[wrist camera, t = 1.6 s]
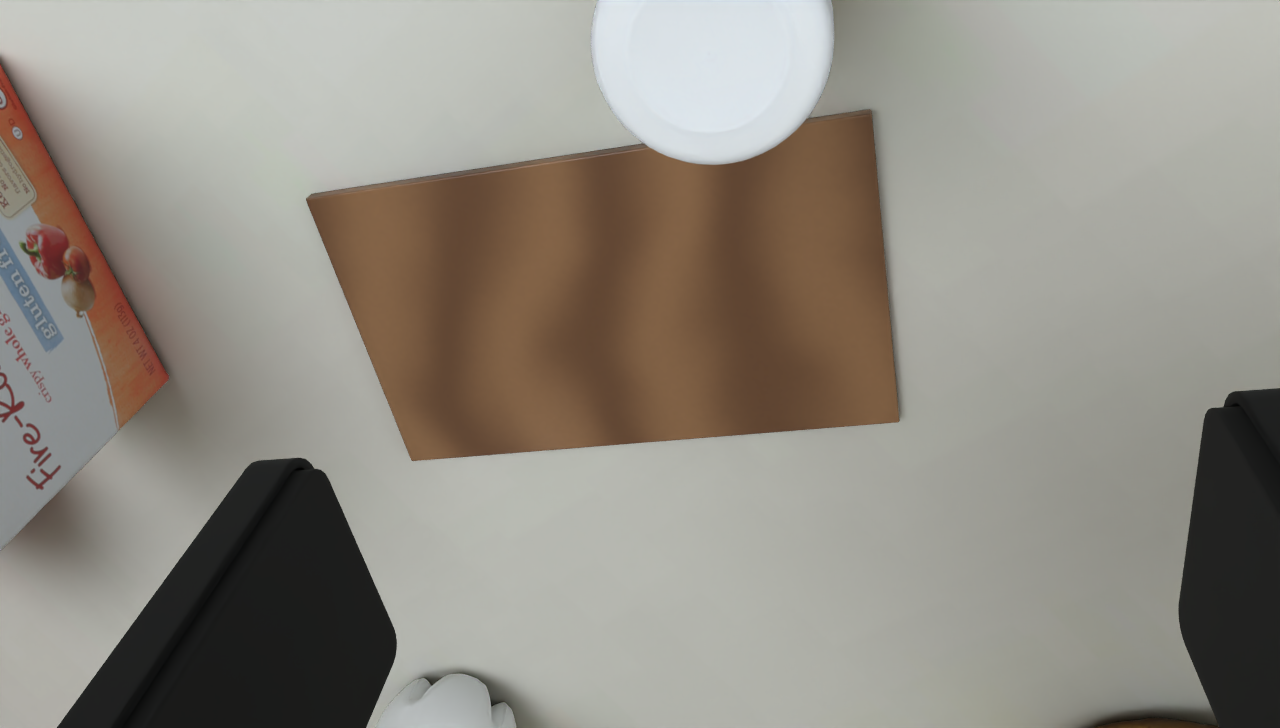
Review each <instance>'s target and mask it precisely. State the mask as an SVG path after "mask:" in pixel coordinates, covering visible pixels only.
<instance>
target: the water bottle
mask: <svg viewBox="0 0 1280 728" xmlns="http://www.w3.org/2000/svg"><path fill="white" fill-rule="evenodd" d="M375 728H517V727H516V722H515V718H514V715H513V711H512V709H511V708H510V707H509V706H508V705H507V704H506V703H505V702H502V703H498V704H495V705H494V706H492V707H491V702H490V697H489V693H488V690H487V687H486V685H485V684H483V683H481V681H480V680H478V679H477V678H475V677H472V676H469V675H465V674H461V673H460V674H448V675H446V676H444V677H443V678H441V679H440V680H438V681H437V682H436V683H435V684H434V685H432V686H431V684H430V683H429V681H428V680H426V679H425V678H421V679H418V680H415V681H413V682H411V683H410V684H409V685H407V686H406V687H405V688H404V689H403V690H402V691H401V692H400V693H399V694H398V695H397V696H396V697H395V698H394V699H393V700H392V701H391V702H390V703H389V705H388V706H387V708H386V709H385V710H384V712H383V713H382V715H381V717H380V719H379V721H378V723H377V725H376V727H375Z"/></svg>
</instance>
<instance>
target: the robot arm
mask: <svg viewBox="0 0 1280 728" xmlns="http://www.w3.org/2000/svg"><path fill="white" fill-rule="evenodd" d="M1179 622H1180V629H1181V633H1182V637H1183V640H1184V643H1185V646H1186V648H1187V650H1188V653H1189V655H1190V657H1191V660H1192V662H1193V665H1194V667H1195V669H1196V672H1197V674H1198V677H1199V679H1200V681H1201V684H1202V686H1203V689H1204V691H1205V693H1206V696H1207V698H1208V700H1209V703H1210V705H1211V708H1212V710H1213V712H1214V715H1215V717H1216V720H1217V722H1218V724H1219V727H1220V728H1280V388H1277V389H1263V390H1249V391H1235V392H1232V393H1230V394H1229V395H1228V397H1227V398H1226V400H1225V404H1224V407H1221V408H1211V409H1209V410H1208V411H1207V413H1206V414H1205V418H1204V423H1203V431H1202V438H1201V445H1200V453H1199V460H1198V467H1197V475H1196V482H1195V489H1194V497H1193V504H1192V511H1191V519H1190V526H1189V533H1188V541H1187V548H1186V555H1185V562H1184V570H1183V577H1182V584H1181V592H1180V599H1179ZM396 648H397V640H396V633H395V630H394V627H393V625H392V623H391V620H390V618H389V616H388V614H387V611H386V609H385V607H384V604H383V602H382V600H381V598H380V595H379V593H378V591H377V588H376V586H375V584H374V582H373V579H372V577H371V575H370V573H369V570H368V568H367V566H366V563H365V561H364V559H363V557H362V554H361V552H360V550H359V548H358V545H357V543H356V541H355V538H354V536H353V534H352V532H351V529H350V527H349V525H348V522H347V520H346V518H345V516H344V513H343V511H342V509H341V507H340V504H339V502H338V500H337V497H336V495H335V493H334V491H333V488H332V486H331V484H330V481H329V479H328V478H327V476H326V474H325V473H324V472H323V471H322V470H318V469H314V468H313V466H312V464H311V463H310V462H308V461H307V460H306V459H303V458H290V459H276V460H261V461H256V462H253V463H251V464H250V465H249V466H248V467H247V468H246V469H245V471H244V472H243V473H242V475H241V476H240V478H239V479H238V480H237V482H236V483H235V484H234V486H233V487H232V489H231V490H230V491H229V493H228V494H227V495H226V497H225V498H224V500H223V501H222V502H221V504H220V505H219V506H218V508H217V509H216V510H215V512H214V513H213V515H212V516H211V517H210V519H209V520H208V521H207V523H206V524H205V526H204V527H203V528H202V530H201V531H200V532H199V534H198V535H197V537H196V538H195V539H194V541H193V542H192V543H191V545H190V546H189V547H188V549H187V550H186V552H185V553H184V554H183V556H182V557H181V558H180V560H179V561H178V563H177V564H176V565H175V567H174V568H173V569H172V571H171V572H170V574H169V575H168V576H167V578H166V579H165V580H164V582H163V583H162V584H161V586H160V587H159V589H158V590H157V591H156V593H155V594H154V595H153V597H152V598H151V600H150V601H149V602H148V604H147V605H146V606H145V608H144V609H143V611H142V612H141V613H140V615H139V616H138V617H137V619H136V620H135V621H134V623H133V624H132V626H131V627H130V628H129V630H128V631H127V632H126V634H125V635H124V637H123V638H122V639H121V641H120V642H119V643H118V645H117V646H116V648H115V649H114V650H113V652H112V653H111V654H110V656H109V657H108V658H107V660H106V661H105V663H104V664H103V665H102V667H101V668H100V669H99V671H98V672H97V674H96V675H95V676H94V678H93V679H92V680H91V682H90V683H89V685H88V686H87V687H86V689H85V690H84V691H83V693H82V694H81V695H80V697H79V698H78V700H77V701H76V702H75V704H74V705H73V706H72V708H71V709H70V711H69V712H68V713H67V715H66V716H65V717H64V719H63V720H62V722H61V723H60V724H59V726H58V727H57V728H366V726H367V724H368V722H369V719H370V717H371V715H372V712H373V710H374V708H375V705H376V703H377V701H378V698H379V696H380V693H381V691H382V689H383V686H384V684H385V682H386V679H387V677H388V675H389V672H390V670H391V668H392V665H393V663H394V659H395V656H396Z"/></svg>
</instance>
